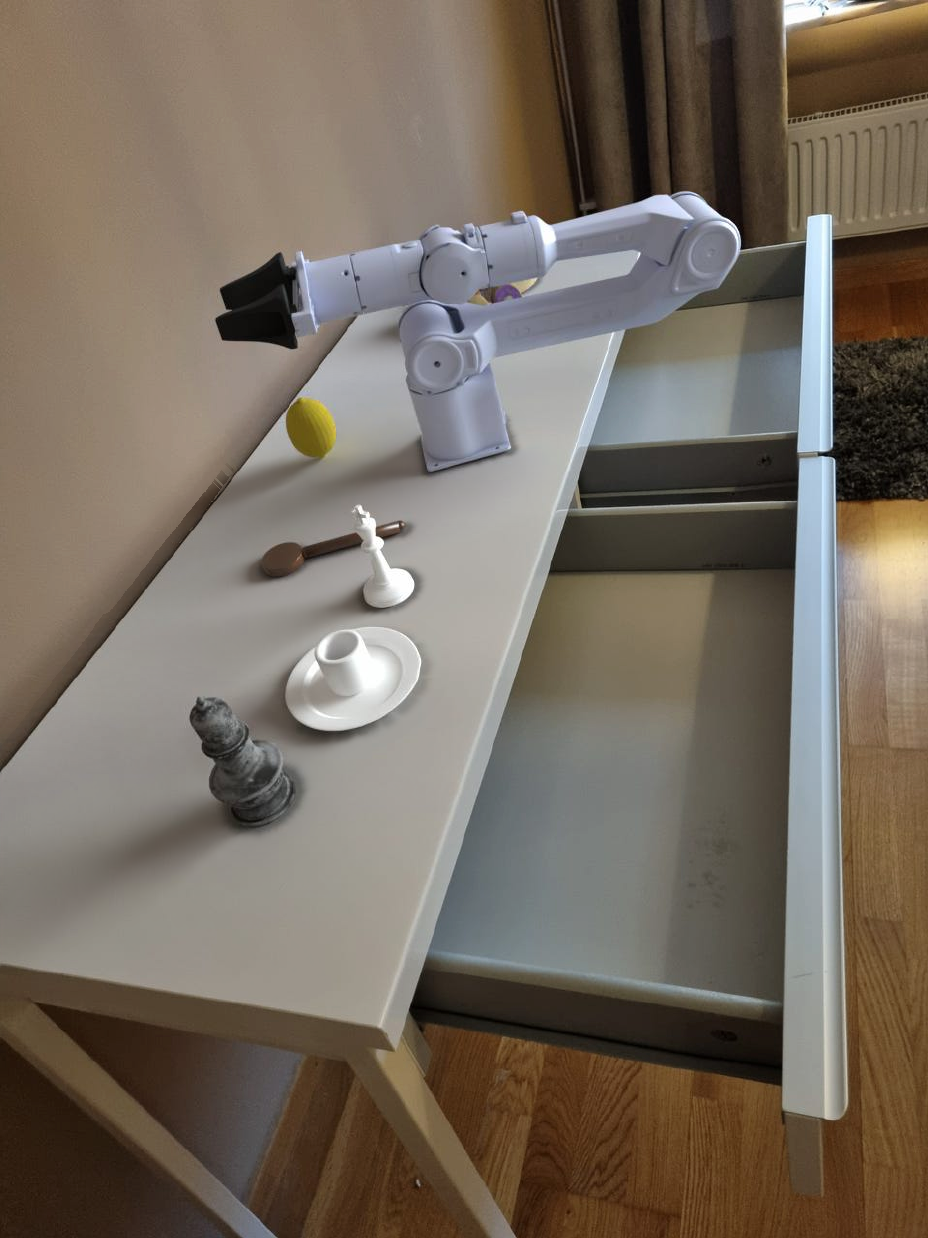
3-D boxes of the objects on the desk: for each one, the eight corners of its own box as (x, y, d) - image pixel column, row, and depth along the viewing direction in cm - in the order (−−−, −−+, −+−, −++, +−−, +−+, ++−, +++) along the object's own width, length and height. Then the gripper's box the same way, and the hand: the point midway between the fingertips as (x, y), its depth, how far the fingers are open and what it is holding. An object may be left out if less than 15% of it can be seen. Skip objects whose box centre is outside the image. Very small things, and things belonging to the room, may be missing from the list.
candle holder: (450, 667, 75) (438, 631, 72) (344, 760, 70) (326, 725, 67) (363, 615, 83) (349, 580, 80) (262, 696, 78) (243, 662, 75)
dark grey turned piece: (231, 775, 72) (165, 676, 64) (301, 760, 71) (242, 658, 63) (223, 837, 67) (150, 738, 59) (296, 821, 67) (233, 719, 59)
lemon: (337, 469, 103) (313, 409, 98) (294, 472, 105) (269, 413, 99) (350, 442, 107) (328, 383, 102) (308, 446, 108) (285, 388, 103)
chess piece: (395, 612, 82) (362, 527, 75) (354, 601, 84) (319, 518, 78) (423, 578, 85) (395, 493, 78) (383, 569, 87) (352, 486, 80)
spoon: (404, 517, 93) (401, 508, 92) (408, 541, 89) (405, 532, 89) (265, 555, 93) (261, 547, 93) (264, 581, 90) (259, 572, 89)
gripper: (342, 219, 90) (211, 247, 90) (350, 270, 79) (201, 302, 79) (358, 287, 95) (234, 314, 94) (368, 344, 84) (227, 374, 84)
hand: (220, 313), depth 87 cm, fingers open, 7 cm apart
